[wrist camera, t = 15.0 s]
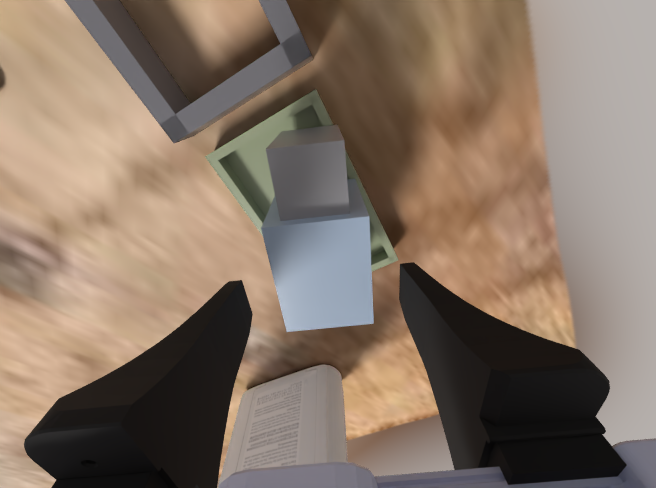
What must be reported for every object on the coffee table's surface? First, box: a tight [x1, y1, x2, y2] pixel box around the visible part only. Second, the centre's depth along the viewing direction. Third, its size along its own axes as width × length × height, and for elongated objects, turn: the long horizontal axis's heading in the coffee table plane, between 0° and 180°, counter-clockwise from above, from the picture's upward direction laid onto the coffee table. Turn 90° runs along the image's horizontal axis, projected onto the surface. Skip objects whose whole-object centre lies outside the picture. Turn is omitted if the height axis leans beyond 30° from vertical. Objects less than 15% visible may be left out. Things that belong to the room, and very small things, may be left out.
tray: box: [205, 89, 398, 271], centre depth 18 cm, size 7×12×2 cm, turn 28°
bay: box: [65, 0, 313, 143], centre depth 13 cm, size 8×6×2 cm
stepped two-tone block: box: [261, 125, 374, 332], centre depth 15 cm, size 4×9×6 cm, turn 6°
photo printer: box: [218, 365, 348, 488], centre depth 22 cm, size 10×4×12 cm, turn 117°
